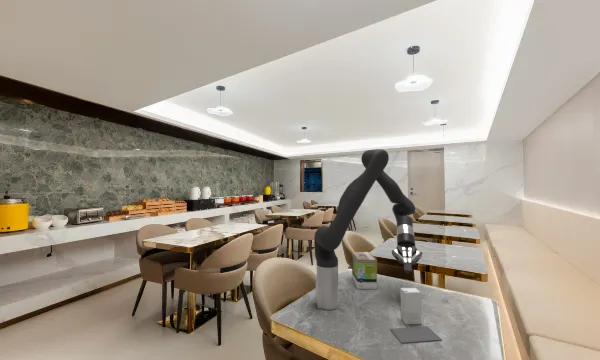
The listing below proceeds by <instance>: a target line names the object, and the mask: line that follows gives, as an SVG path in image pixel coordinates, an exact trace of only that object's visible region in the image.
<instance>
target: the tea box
mask: <svg viewBox="0 0 600 360" xmlns="http://www.w3.org/2000/svg"><path fill="white" fill-rule="evenodd" d="M351 258H352V259H351V268H352V269H351V279H352V281H353V282H354V284H355V286H356V289H358V290H377V288H378V284H377V283H378V259H377V258H376V256H374V255H373V253H371V252H370V251H352V253H351Z"/></svg>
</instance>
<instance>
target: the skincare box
mask: <svg viewBox="0 0 600 360" xmlns="http://www.w3.org/2000/svg"><path fill="white" fill-rule="evenodd" d="M421 293H422V292H421V291H420V290H418V288H416V287H401V288H400V319H401V320H402V322H403V323H404V325H422V305H421V303H422V302H421Z"/></svg>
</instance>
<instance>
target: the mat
mask: <svg viewBox="0 0 600 360" xmlns="http://www.w3.org/2000/svg"><path fill="white" fill-rule="evenodd" d="M390 332H391V333H392V334H393V335H394V336H395V338H396V339H397V340H398V342H400V344H401V345H403V344H404V345H405V344H417V343H431V342H432V343H433V342H442V341H443V339H442V338H441V337H440V336H439V335H437V334H436V333H435V332H434V331H433V330H432V329H431V328H430V327H429V326H427V325H424V326H423V325H422V326H412V327H411V326H410V327H408V326H407V327H399V328H398V327H395V328H390Z"/></svg>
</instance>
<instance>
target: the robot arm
mask: <svg viewBox="0 0 600 360" xmlns="http://www.w3.org/2000/svg"><path fill="white" fill-rule="evenodd" d="M389 159H390V157H389V153H388V152H387V150H384V149H381V148H379V149H377V148H376V149H374V148H373V149H367V150H365V151H364V152H363V153H362V154H361V164H362V166H363V167H364V168H365V170H364V171H363V172H362V173H361V174H360V175H358V177H356V178H355V179H354V180H353V181H351V183H349V184H348V186H347V187H346V188H345V190H344V191H343V193H342V195H341V196H340V198H339V201H338V205H337V206H338V207H337V211H336V215H335V217H334V218H333V220H332V221H331V223H330V225H329V226H326V225H321V226H319V227H318V228H317V229H316V231H315V233H314V238H313V239H314V244H313V245H314V256H315V260H316V261H315V262H316V280H315V303H316V306H317V308H318V309H321V310H329V311H330V310H336V309H337V308H338V307H339V259H338V257H337V254H336V252H335V250H336V249H338V247H340V245H341V243H342V241H343V239H344V237H345V235H346V232H347V230H348V228H349V226H350V224H351V222H352V220H353V219H354V217H355V216H356V214H357V212H358V210H359V209H360V208H361V206H362V204H363V203H364V201H365V198H366V197H367V195H368V193H369V192H370V191H371V189H372V188H373V185H374V184H375V182H377V183H378V184H379V186H380V187H381V188H382V190H383V192H384V193H385V195H386V196H387V198H388V200H389V202H390V203H392V204H393V206H392V213H393V215H394V217H395V221H396V245H397V246H396V248H395V249H392V250H391V255H392V256H393V257H394V258H395V260H396V261H397V262H398V263H399V264H400V265H401V264H403V271H404V273H406V274H410V273H412V269H413V268H412V265H414V266H415V265H416V264H417V263H418V262H419V261H420V260H421V258H422V257H423V252H422V251H420V250H419V251H418V248H417V247H416V241H415V240H416V239H415V231H414V226H413V219H412V218H411V216H412V215H413V214H415V213H416V206H415V204H414V203H413V202H412V201H411V199H410V198H408V197H407V196H406V195H405V194H404V192H403V191H402V189H401V187H400V186H399V185H398V183H397V182H396V181H395V179H393V178H392V177H390V175H388V174H387V173H386V171H384V170H385V169H386V167H387V165H388V164H389ZM410 215H411V216H410ZM414 256H415V257H414ZM412 258H413V259H412Z"/></svg>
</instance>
